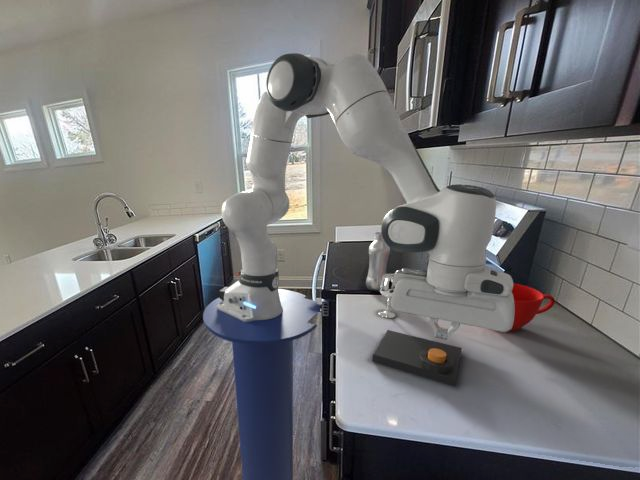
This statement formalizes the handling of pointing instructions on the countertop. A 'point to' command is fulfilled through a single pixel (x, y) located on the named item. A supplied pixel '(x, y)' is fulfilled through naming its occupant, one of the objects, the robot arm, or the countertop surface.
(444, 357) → the button
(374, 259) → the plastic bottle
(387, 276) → the wineglass
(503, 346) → the countertop surface
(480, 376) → the countertop surface
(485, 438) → the countertop surface
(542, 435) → the countertop surface
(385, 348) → the dark grey button box
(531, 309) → the ceramic cup
